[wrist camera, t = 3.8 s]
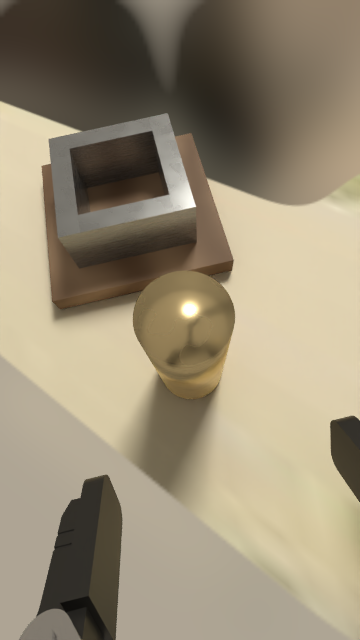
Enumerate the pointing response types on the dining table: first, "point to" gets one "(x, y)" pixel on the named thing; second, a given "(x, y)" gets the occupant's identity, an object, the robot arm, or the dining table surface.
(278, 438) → the dining table surface
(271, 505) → the dining table surface
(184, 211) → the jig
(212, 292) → the gold dome cylinder
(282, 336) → the dining table surface
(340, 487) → the dining table surface
